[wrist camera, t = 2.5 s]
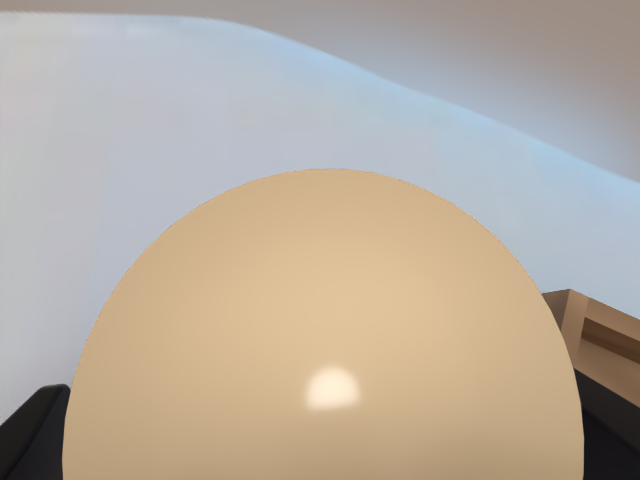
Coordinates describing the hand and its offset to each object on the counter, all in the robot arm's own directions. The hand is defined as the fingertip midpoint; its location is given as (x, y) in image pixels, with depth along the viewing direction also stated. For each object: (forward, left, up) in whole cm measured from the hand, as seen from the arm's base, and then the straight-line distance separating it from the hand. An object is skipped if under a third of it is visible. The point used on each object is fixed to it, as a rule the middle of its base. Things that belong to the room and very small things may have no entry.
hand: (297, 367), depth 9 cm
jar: (0, 0, -8) cm, 8 cm away
